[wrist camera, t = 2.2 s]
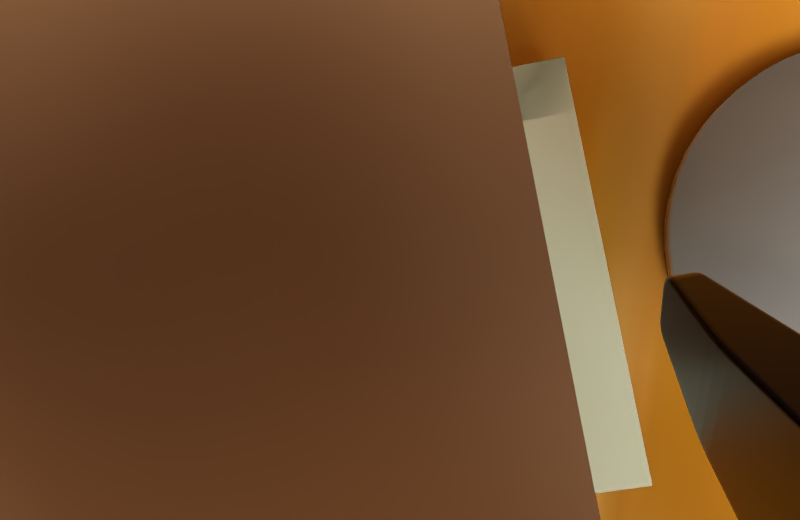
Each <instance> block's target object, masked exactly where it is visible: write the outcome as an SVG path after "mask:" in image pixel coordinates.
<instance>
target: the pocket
mask: <svg viewBox="0 0 800 520" xmlns="http://www.w3.org/2000/svg"><path fill="white" fill-rule="evenodd" d="M512 69H513V74H514V79H515V84H516V89H517V95H518V100H519V105H520V110H521V115H522V120H523V125H524V130H525V136H526V141H527V146H528V151H529V156H530V161H531V166H532V172H533V177H534V182H535V187H536V192H537V197H538V202H539V207H540V213H541V218H542V223H543V228H544V233H545V238H546V243H547V249H548V254H549V259H550V264H551V269H552V274H553V279H554V284H555V290H556V295H557V300H558V305H559V310H560V315H561V320H562V326H563V331H564V336H565V341H566V346H567V351H568V356H569V361H570V367H571V372H572V377H573V382H574V387H575V392H576V397H577V403H578V408H579V413H580V418H581V423H582V428H583V433H584V438H585V444H586V449H587V454H588V459H589V464H590V469H591V474H592V480H593V485H594V490H595V493H603V492H610V491H617V490H624V489H632V488H639V487H646V486H652V481H651V476H650V472H649V467H648V462H647V457H646V452H645V447H644V442H643V438H642V433H641V428H640V423H639V418H638V413H637V408H636V403H635V399H634V394H633V389H632V384H631V379H630V374H629V369H628V365H627V360H626V355H625V350H624V345H623V340H622V335H621V330H620V326H619V321H618V316H617V311H616V306H615V301H614V296H613V292H612V287H611V282H610V277H609V272H608V267H607V262H606V258H605V253H604V248H603V243H602V238H601V233H600V228H599V223H598V219H597V214H596V209H595V204H594V199H593V194H592V189H591V185H590V180H589V175H588V170H587V165H586V160H585V155H584V150H583V146H582V141H581V136H580V131H579V126H578V121H577V116H576V112H575V107H574V102H573V97H572V92H571V87H570V82H569V77H568V73H567V68H566V63H565V58H564V57H559V58H554V59H549V60H544V61H540V62H535V63H530V64H525V65H520V66H515V67H512Z"/></svg>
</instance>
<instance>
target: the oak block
mask: <svg viewBox="0 0 800 520" xmlns="http://www.w3.org/2000/svg"><path fill="white" fill-rule="evenodd" d="M0 520H600V515H599V510H598V505H597V500H596V495H595V490H594V485H593V480H592V474H591V469H590V464H589V459H588V454H587V449H586V444H585V438H584V433H583V428H582V423H581V418H580V413H579V408H578V403H577V397H576V392H575V387H574V382H573V377H572V372H571V367H570V361H569V356H568V351H567V346H566V341H565V336H564V331H563V326H562V320H561V315H560V310H559V305H558V300H557V295H556V290H555V284H554V279H553V274H552V269H551V264H550V259H549V254H548V249H547V243H546V238H545V233H544V228H543V223H542V218H541V213H540V207H539V202H538V197H537V192H536V187H535V182H534V177H533V172H532V166H531V161H530V156H529V151H528V146H527V141H526V136H525V130H524V125H523V120H522V115H521V110H520V105H519V100H518V95H517V89H516V84H515V79H514V74H513V69H512V64H511V59H510V53H509V48H508V43H507V38H506V33H505V28H504V23H503V18H502V12H501V7H500V2H499V0H0Z"/></svg>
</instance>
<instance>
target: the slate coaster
mask: <svg viewBox="0 0 800 520" xmlns="http://www.w3.org/2000/svg"><path fill="white" fill-rule="evenodd" d="M664 251H665V258H666V265H667V271H668V277H671V276H675V275H681V274H687V273H693V272H699V273H702V274H704V275H706V276H707V277H709V278H711V279H712V280H714V281H715V282H717V283H719V284H720V285H722V286H724V287H725V288H727V289H728V290H730V291H732V292H733V293H735V294H736V295H738V296H740V297H741V298H743V299H745V300H746V301H748V302H749V303H751V304H753V305H754V306H756V307H758V308H759V309H761V310H762V311H764V312H766V313H767V314H769V315H770V316H772V317H774V318H775V319H777V320H779V321H780V322H782V323H783V324H785V325H787V326H788V327H790V328H791V329H793V330H795V331H796V332H798V333H800V53H798V54H796V55H793V56H790V57H788V58H786V59H784V60H782V61H780V62H778V63H776V64H775V65H773V66H771V67H769V68H767V69H765V70H764V71H762V72H760V73H759V74H758V75H756V76H755V77H754V78H752V79H751V80H749V81H748V82H747V83H745V84H744V85H742V86H741V87H740V88H739V89H738V90H736V91H735V92H734V93H733V94H732V95H731V96H730V97H729V98H727V99H726V100H725V101H724V102H723V103H722V104H721V105H720V106H719V107H718V108H717V109H716V110H715V111H714V112H713V113H712V114H711V115H710V116H709V118H708V119H707V120H706V121H705V123H704V124H703V125H702V126H701V128H700V129H699V130H698V131H697V133H696V134H695V136H694V138H693V139H692V141H691V143H690V144H689V146H688V148H687V149H686V151H685V153H684V154H683V157H682V159H681V161H680V164H679V166H678V168H677V171H676V173H675V175H674V178H673V182H672V186H671V189H670V193H669V197H668V200H667V208H666V216H665V223H664Z"/></svg>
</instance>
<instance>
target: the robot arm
mask: <svg viewBox="0 0 800 520" xmlns="http://www.w3.org/2000/svg"><path fill="white" fill-rule="evenodd" d="M660 324H661V332H662V336H663V339H664V342H665V345H666V348H667V350H668V353H669V356H670V359H671V362H672V365H673V367H674V370H675V373H676V376H677V379H678V382H679V384H680V387H681V390H682V393H683V396H684V399H685V401H686V404H687V407H688V410H689V413H690V416H691V418H692V421H693V424H694V427H695V429H696V432H697V435H698V437H699V440H700V442H701V444H702V447H703V449H704V451H705V453H706V455H707V458H708V460H709V462H710V464H711V466H712V468H713V470H714V472H715V474H716V476H717V478H718V480H719V482H720V484H721V486H722V488H723V490H724V492H725V494H726V496H727V498H728V500H729V502H730V504H731V506H732V508H733V510H734V512H735V514H736V516H737V518H738V520H800V333H798V332H796V331H795V330H793V329H791V328H790V327H788V326H787V325H785V324H783V323H782V322H780V321H779V320H777V319H775V318H774V317H772V316H770V315H769V314H767V313H766V312H764V311H762V310H761V309H759V308H758V307H756V306H754V305H753V304H751V303H749V302H748V301H746V300H745V299H743V298H741V297H740V296H738V295H736V294H735V293H733V292H732V291H730V290H728V289H727V288H725V287H724V286H722V285H720V284H719V283H717V282H715V281H714V280H712V279H711V278H709V277H707V276H706V275H704V274H702V273H699V272H693V273H687V274H681V275H675V276H671V277H669V278H667V279H666V281H665V283H664V289H663V299H662V309H661V319H660Z"/></svg>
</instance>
